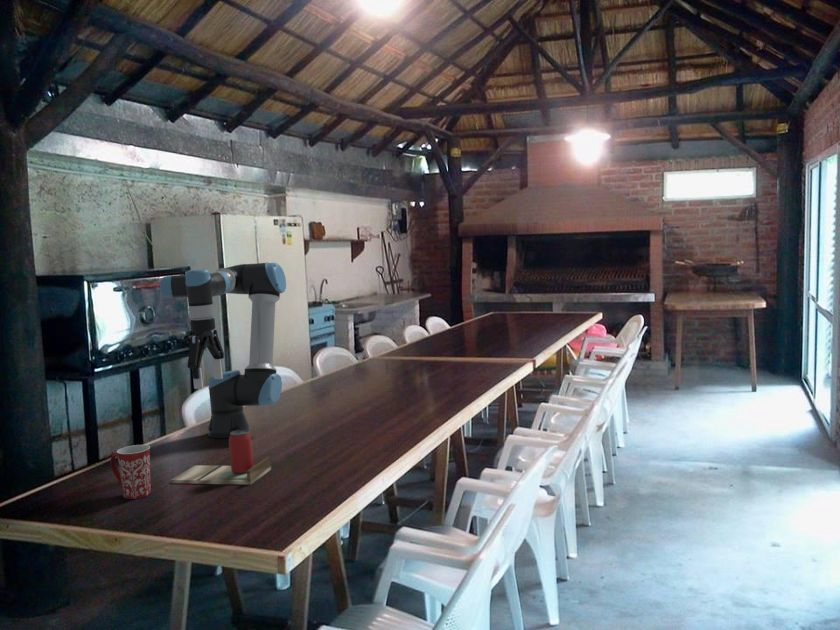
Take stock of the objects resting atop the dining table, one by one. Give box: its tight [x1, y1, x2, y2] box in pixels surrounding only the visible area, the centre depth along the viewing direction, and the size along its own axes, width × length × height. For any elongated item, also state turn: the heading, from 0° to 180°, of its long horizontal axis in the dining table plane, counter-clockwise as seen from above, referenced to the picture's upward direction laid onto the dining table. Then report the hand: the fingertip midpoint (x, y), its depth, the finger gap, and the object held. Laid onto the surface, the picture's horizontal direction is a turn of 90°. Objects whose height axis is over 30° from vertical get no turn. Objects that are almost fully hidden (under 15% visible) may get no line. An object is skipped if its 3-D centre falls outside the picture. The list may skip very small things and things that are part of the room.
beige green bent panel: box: [170, 456, 272, 486], centre depth 222 cm, size 26×14×4 cm, turn 77°
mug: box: [109, 444, 152, 500], centre depth 209 cm, size 13×9×14 cm
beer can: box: [228, 430, 254, 474], centre depth 220 cm, size 7×7×12 cm
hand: (208, 383), depth 234 cm, fingers open, 13 cm apart
